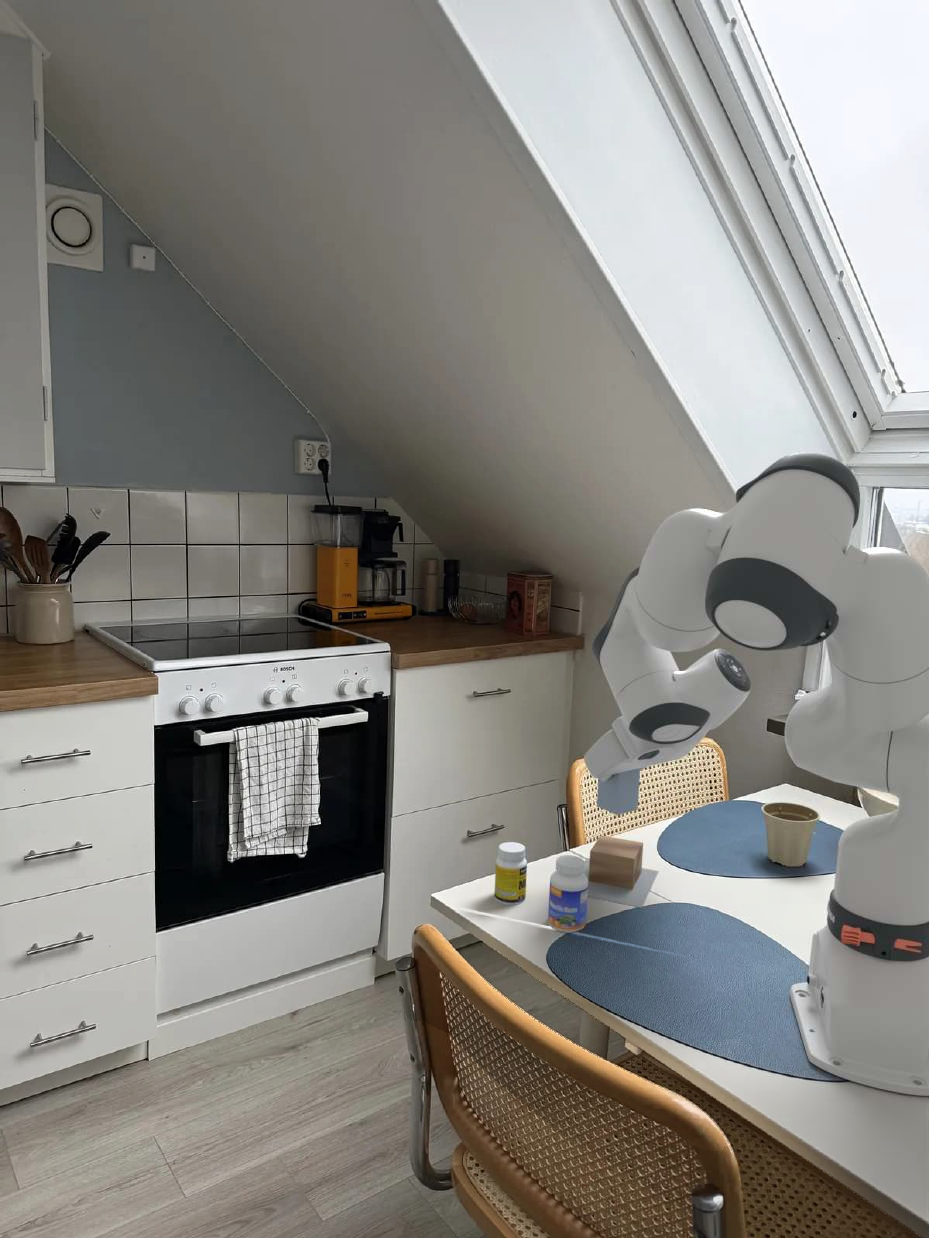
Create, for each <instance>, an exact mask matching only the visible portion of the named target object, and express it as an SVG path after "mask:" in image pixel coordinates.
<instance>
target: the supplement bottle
mask: <svg viewBox="0 0 929 1238" xmlns="http://www.w3.org/2000/svg"><path fill="white" fill-rule="evenodd" d="M497 854H498V856H497V858H496V859H495V875H494V876H495V878H494V896H493V898H494V899H495V901H496V902H498V903H500V904H503V905H507V906H509V905H519V904H522V903H523V902H525V900H526V895H527V894H526V893H527V875H528V874H527V873H528V872H527V869H528V861H527V859H526V846H524V844H522V843H519V842H515V841H514V842H513V841H510V842H509V841H506V842H503V843H500V844H499V846H498V851H497Z"/></svg>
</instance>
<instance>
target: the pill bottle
mask: <svg viewBox="0 0 929 1238" xmlns="http://www.w3.org/2000/svg"><path fill="white" fill-rule="evenodd" d="M584 861H585V860H584V859H583V858H581V857H579V856H575V855H571V854H569V855H568V854H567V855H565V854H564V855H561V856H558V857H557V858H556V860H555V871H553V872H552V873H551V875H550V878H549V892H548V893H549V894H548V895H549V896H548V908H547V910H548V911H547V913H548V914H547V923H548V925H549V927H550V928H552V929H553V930H555V931H557V932H561V933H564V934H565V933H567V934H572V933H574V934H575V933H578V931H580V930H582V929H584V927H585V926H586V923H587V922H586V921H587V909H588V897H587V894H588V878H587V877H586V875H585V874H584V873H583V872H584Z"/></svg>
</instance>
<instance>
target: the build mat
mask: <svg viewBox="0 0 929 1238" xmlns="http://www.w3.org/2000/svg"><path fill="white" fill-rule="evenodd" d="M589 863H590V857H588V858H587V857H586V858H585V860H584V872H583V873H584V874H585V875H586V877H587V878H588V894H587V898H588V899H589V898H590V899H595V900H600V901H605V902H609V903H614V904H615V903H616V904H618V905H619V904H620V905H625V906H629V907H633V908H640V909H643V906H644V904H645V902H646V899H647V898H648V895H649V893H650V891H651V889H652V886H653V884H654V883H655V880H656V878H657V876H658V874H659V870H656V869H655V870H654V869H648V868H644V867H642V872H641V874H640V876H639V878H638V880H637V882H636V884H635V886H634V888H633V889H628V888H622V887H617V886H612V885H607V884H601V883H596V882H591V881H589Z"/></svg>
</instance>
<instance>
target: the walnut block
mask: <svg viewBox="0 0 929 1238" xmlns="http://www.w3.org/2000/svg"><path fill="white" fill-rule="evenodd" d="M643 853H644V842H642V841H635V840H628V839H624V838H618V837H612V836H606V835H599V837H598V839H597V840H596V842H595V843H594V844H593V846H592V848H591V849H590V850H589V859H590V863H589V881H591V882H596V883H601V884H607V885H612V886H617V887H622V888H628V889H633V888H634V886H635V884H636V882H637V880H638V878H639V876H640V874H641V872H642V868H643V867H642V866H643V856H644V855H643Z"/></svg>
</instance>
